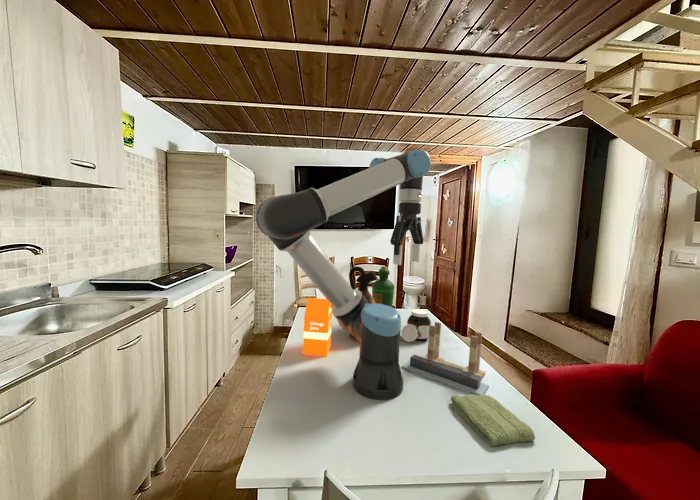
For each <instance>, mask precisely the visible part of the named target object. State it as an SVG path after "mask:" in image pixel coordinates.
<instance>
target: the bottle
mask: <svg viewBox="0 0 700 500" xmlns="http://www.w3.org/2000/svg"><path fill="white" fill-rule="evenodd" d="M388 267H389V266H386V265H381V266H380V268H379V269H378V273H377V274H378V276H379V277H378V280H375V281H373V283H371V296H372V297H373V299H374V301H375V303H377V304H384V305H388V306H390V307H393V304H394V295H395V294H394V293H395V285H394V283H393V282H392V281H391V280H389V275H390V274H391V273H390V269H389V268H388Z"/></svg>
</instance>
